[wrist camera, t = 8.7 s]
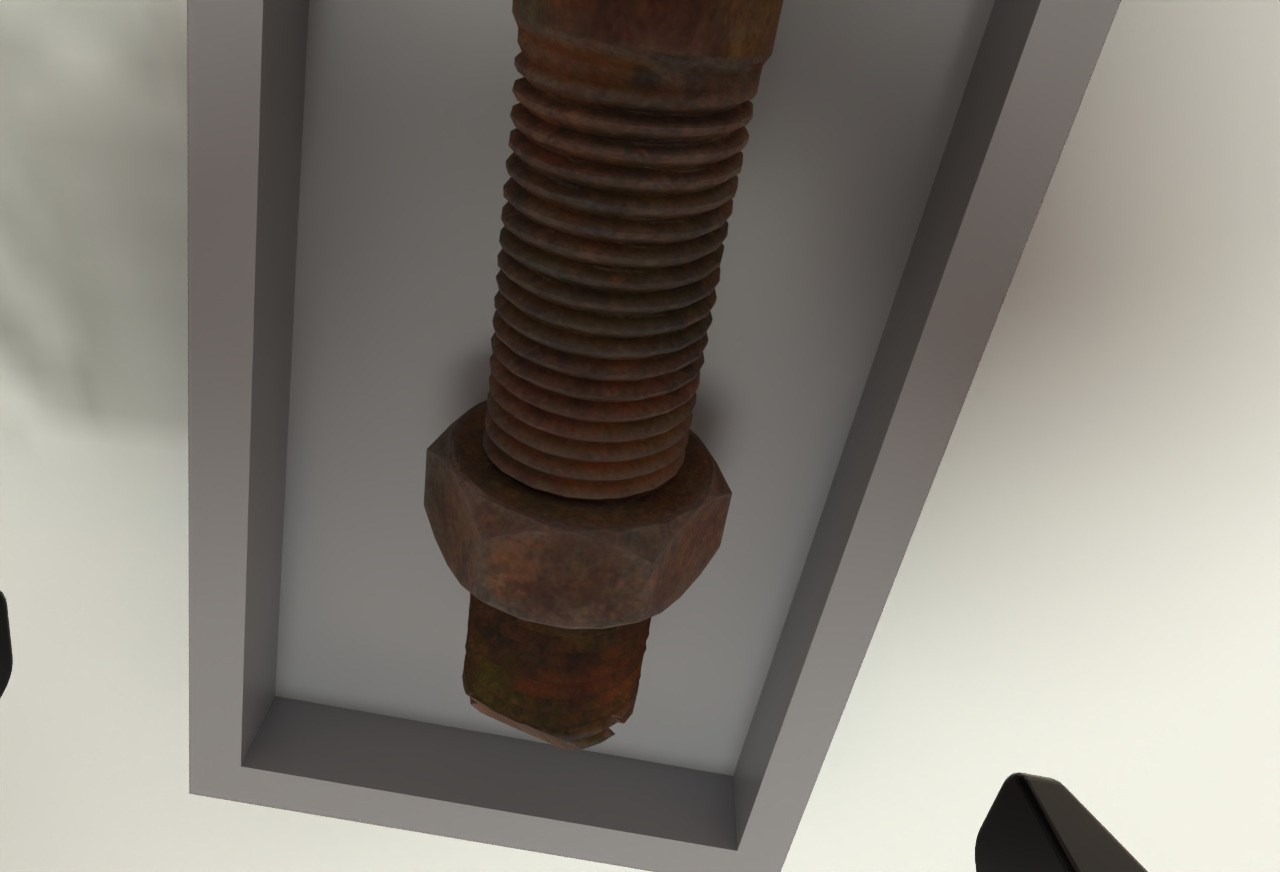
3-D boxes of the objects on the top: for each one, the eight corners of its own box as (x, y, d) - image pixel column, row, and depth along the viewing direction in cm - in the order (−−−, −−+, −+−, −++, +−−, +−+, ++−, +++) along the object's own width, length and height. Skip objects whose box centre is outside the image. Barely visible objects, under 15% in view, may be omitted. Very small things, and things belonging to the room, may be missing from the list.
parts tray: (235, 706, 23) (189, 793, 21) (269, -618, 13) (186, -716, 11) (764, 798, 24) (772, 891, 22) (1192, -383, 14) (1289, -430, 12)
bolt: (533, 568, 23) (634, -252, 15) (738, 677, 21) (969, -203, 13) (332, 722, 18) (332, -329, 11) (567, 880, 16) (771, -272, 9)
